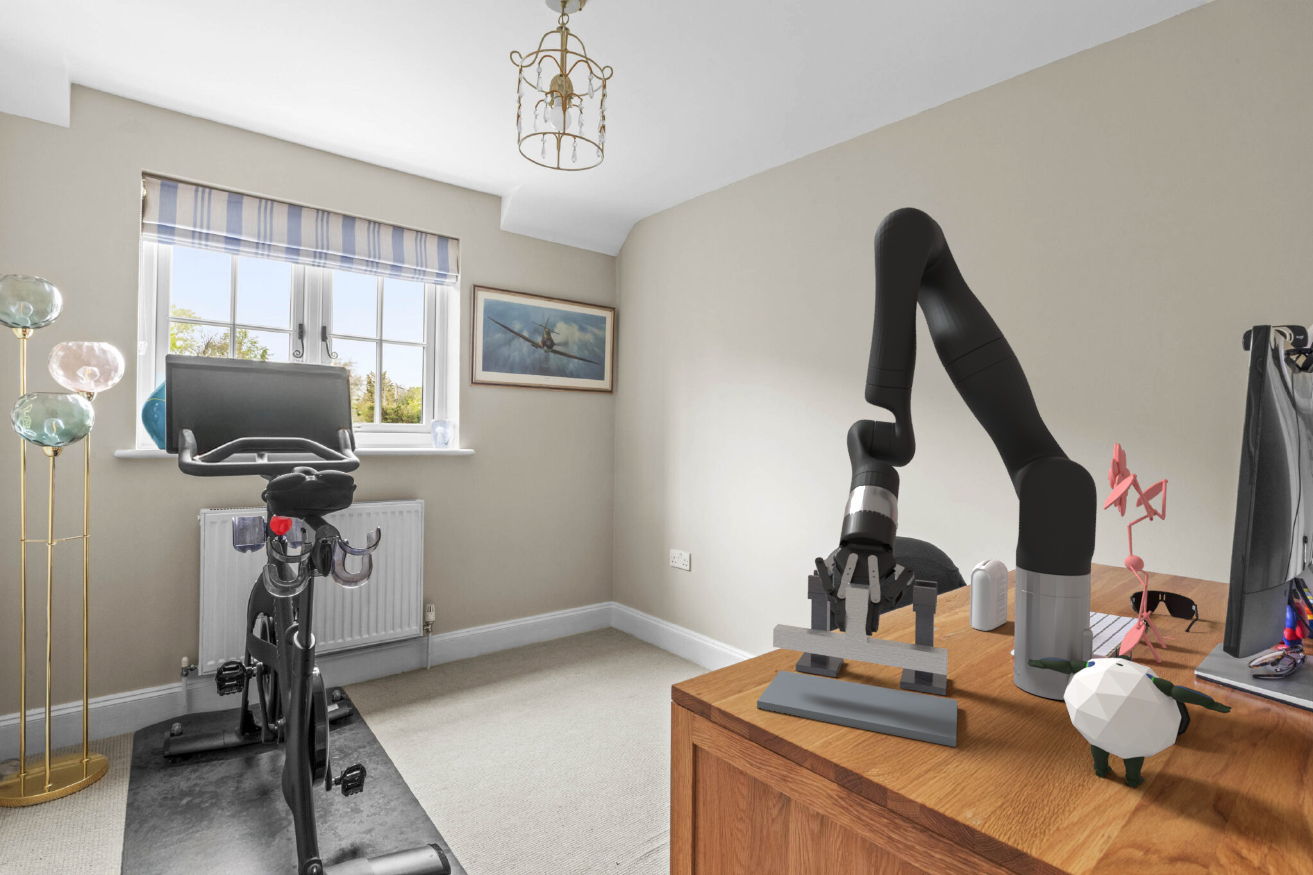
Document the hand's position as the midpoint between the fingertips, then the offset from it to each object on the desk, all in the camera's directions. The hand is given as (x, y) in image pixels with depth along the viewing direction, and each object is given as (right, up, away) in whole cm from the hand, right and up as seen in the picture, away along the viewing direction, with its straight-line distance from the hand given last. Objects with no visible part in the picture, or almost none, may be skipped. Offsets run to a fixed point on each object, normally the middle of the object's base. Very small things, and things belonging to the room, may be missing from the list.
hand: (855, 630), depth 85 cm
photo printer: (+37, -11, +39) cm, 55 cm away
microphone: (+41, -12, +1) cm, 42 cm away
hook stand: (+6, -11, +14) cm, 19 cm away
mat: (+1, -11, +2) cm, 11 cm away
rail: (+1, -4, +2) cm, 5 cm away
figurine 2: (+24, -12, -14) cm, 30 cm away
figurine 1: (+53, -11, +27) cm, 60 cm away
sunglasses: (+73, -11, +42) cm, 85 cm away
